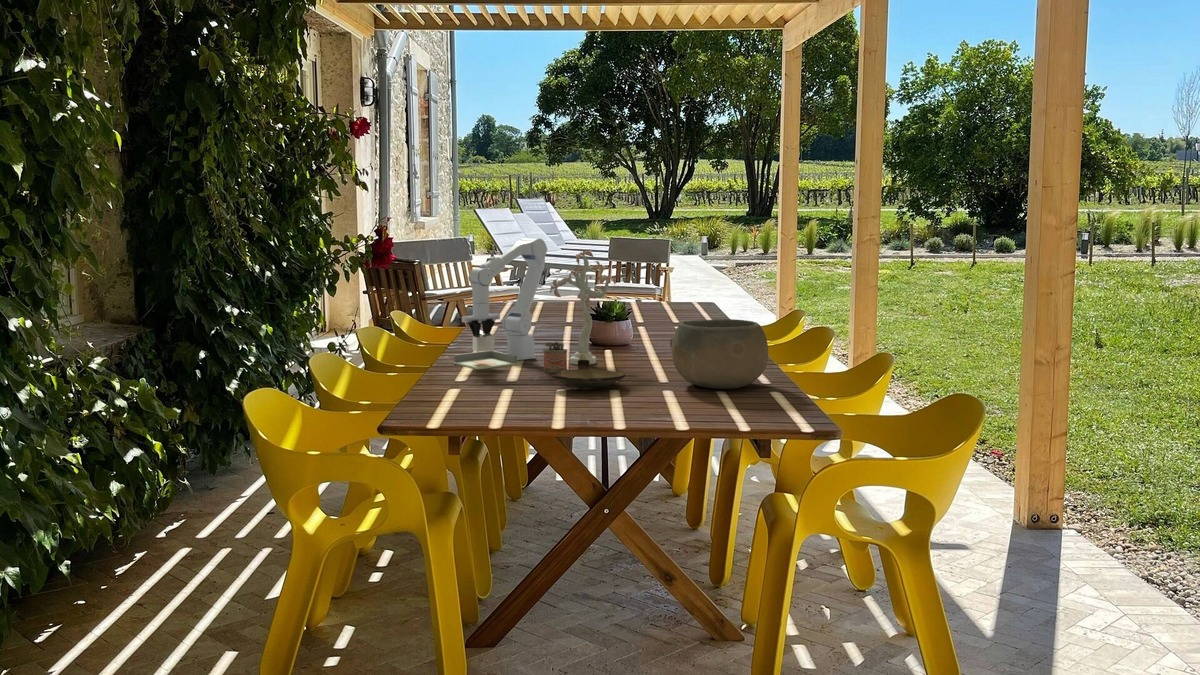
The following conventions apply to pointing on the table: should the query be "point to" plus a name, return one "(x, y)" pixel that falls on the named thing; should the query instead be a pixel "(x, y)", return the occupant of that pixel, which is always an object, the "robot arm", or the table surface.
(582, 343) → the white tree stand
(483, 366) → the arena
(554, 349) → the lighter
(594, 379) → the oil lamp
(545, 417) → the table surface
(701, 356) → the clay pot
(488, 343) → the bracket
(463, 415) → the table surface
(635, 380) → the table surface
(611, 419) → the table surface
